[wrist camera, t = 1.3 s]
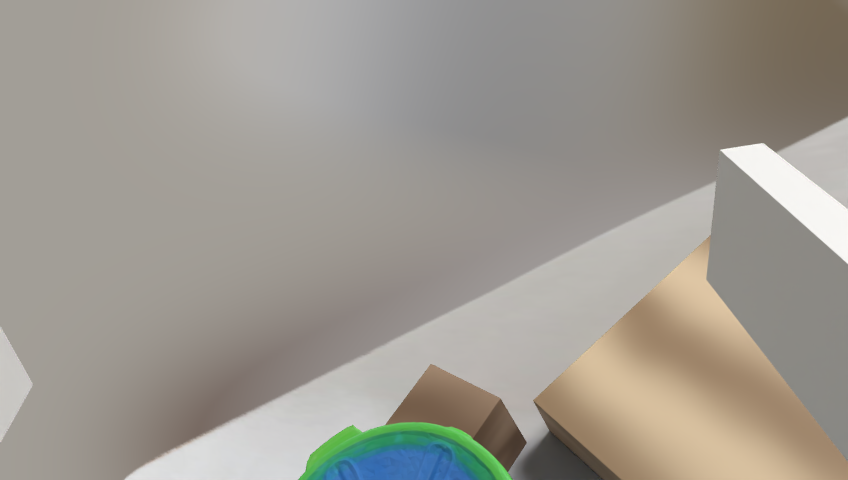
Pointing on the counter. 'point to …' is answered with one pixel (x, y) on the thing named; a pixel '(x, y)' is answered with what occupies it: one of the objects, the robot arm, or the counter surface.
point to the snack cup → (403, 455)
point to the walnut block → (462, 413)
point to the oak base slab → (685, 396)
